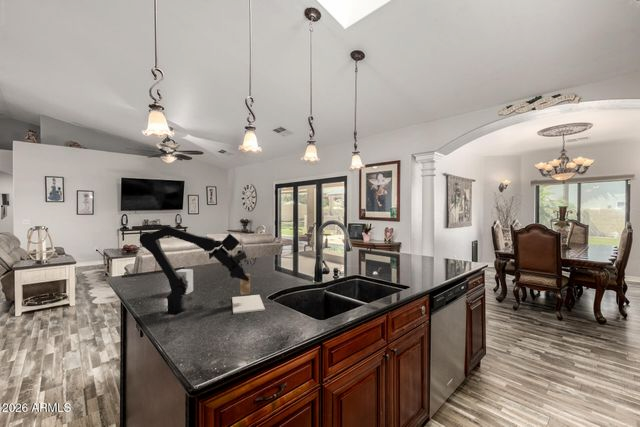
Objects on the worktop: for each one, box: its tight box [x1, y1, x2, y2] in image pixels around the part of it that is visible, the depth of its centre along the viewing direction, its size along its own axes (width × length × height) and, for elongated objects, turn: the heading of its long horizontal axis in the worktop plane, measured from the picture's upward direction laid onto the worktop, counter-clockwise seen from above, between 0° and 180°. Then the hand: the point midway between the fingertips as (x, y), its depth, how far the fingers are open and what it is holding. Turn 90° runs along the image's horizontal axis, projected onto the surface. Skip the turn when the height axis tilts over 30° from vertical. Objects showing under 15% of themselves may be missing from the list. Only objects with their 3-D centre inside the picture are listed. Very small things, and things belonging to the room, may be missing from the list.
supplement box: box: [175, 268, 194, 296], centre depth 155 cm, size 7×7×13 cm
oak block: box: [239, 272, 251, 295], centre depth 136 cm, size 4×4×9 cm
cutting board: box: [231, 294, 266, 314], centre depth 137 cm, size 14×22×1 cm, turn 19°
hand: (248, 279), depth 137 cm, fingers closed on oak block, 4 cm apart
